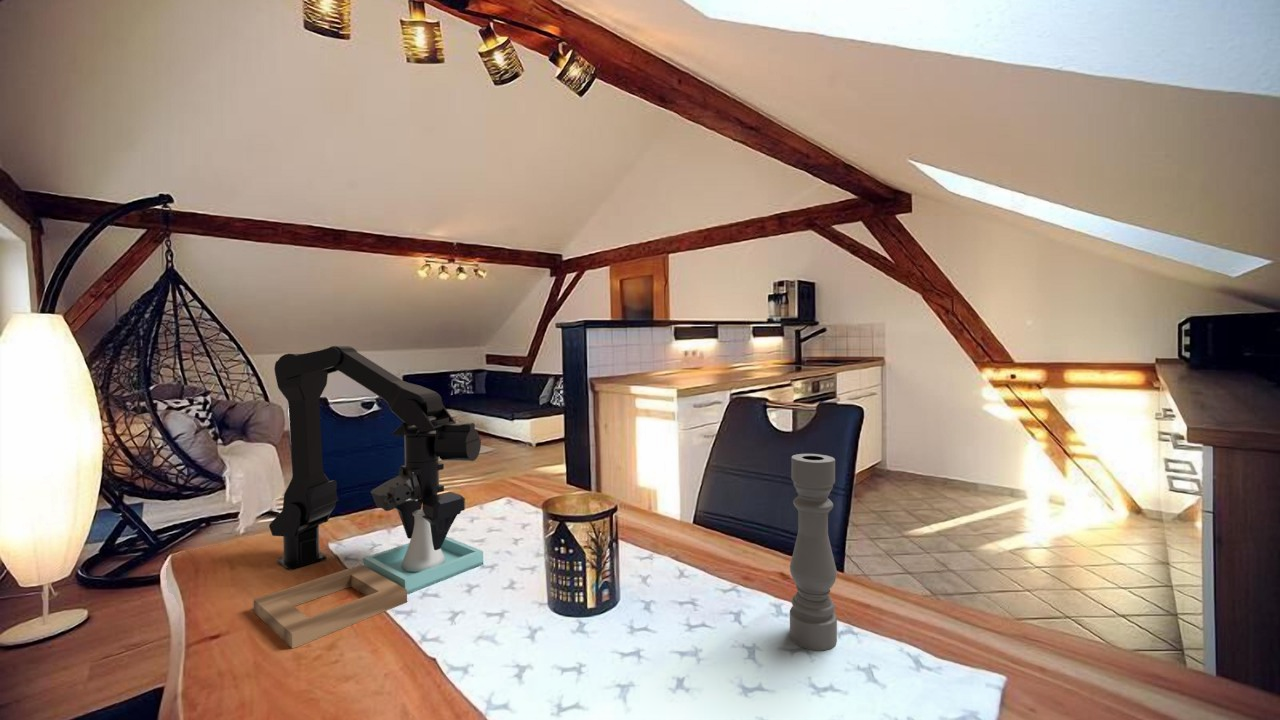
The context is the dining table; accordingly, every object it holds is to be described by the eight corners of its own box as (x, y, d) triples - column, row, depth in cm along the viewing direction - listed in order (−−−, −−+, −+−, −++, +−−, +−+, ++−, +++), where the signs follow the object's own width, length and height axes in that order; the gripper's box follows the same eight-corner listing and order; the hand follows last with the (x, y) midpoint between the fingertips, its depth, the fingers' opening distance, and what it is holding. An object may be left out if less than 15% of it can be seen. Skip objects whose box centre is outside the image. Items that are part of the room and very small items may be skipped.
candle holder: (813, 655, 67) (813, 465, 67) (780, 632, 73) (779, 456, 72) (847, 642, 70) (847, 459, 70) (812, 621, 76) (812, 451, 75)
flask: (393, 569, 94) (391, 514, 93) (424, 554, 100) (423, 503, 100) (422, 576, 91) (421, 520, 90) (453, 560, 97) (452, 508, 97)
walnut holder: (253, 612, 80) (253, 599, 80) (361, 575, 92) (361, 564, 92) (292, 648, 70) (292, 634, 70) (407, 602, 83) (406, 589, 83)
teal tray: (363, 571, 94) (363, 557, 94) (439, 545, 106) (439, 533, 106) (405, 595, 85) (405, 580, 85) (483, 564, 97) (483, 551, 97)
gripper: (353, 460, 94) (355, 545, 95) (405, 476, 83) (407, 572, 83) (411, 450, 103) (413, 528, 103) (466, 463, 92) (467, 550, 92)
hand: (423, 543), depth 95 cm, fingers open, 9 cm apart
